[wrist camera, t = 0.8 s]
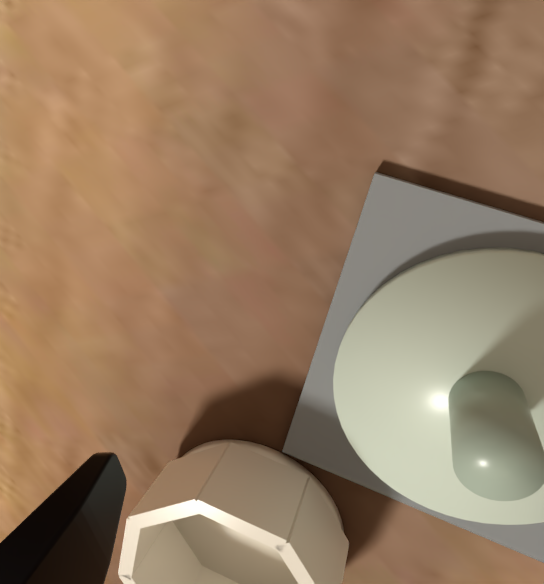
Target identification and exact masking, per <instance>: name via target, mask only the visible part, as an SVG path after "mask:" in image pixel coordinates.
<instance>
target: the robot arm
mask: <svg viewBox="0 0 544 584" xmlns="http://www.w3.org/2000/svg"><path fill="white" fill-rule="evenodd" d="M125 492H126V477H125V474H124V472H123V469H122V467H121V464H120V462H119V460H118V457H117V455H116V454H114V453H112V452H107V453H95V454H94V455H92V456H91V457H90V458H89V459H88V460H87V461H86V462H85V463H83V464H82V465H81V466H80V467H79V468H78V469H77V470H76V471H75V472H74V473H73V474H72V475H71V476H70V477H69V478H68V479H67V480H66V481H65V482H64V483H63V484H62V485H60V486H59V487H58V488H57V489H56V490H55V491H54V492H53V493H52V494H51V495H50V496H49V497H48V498H47V499H46V500H45V501H44V502H43V503H42V504H41V505H40V506H39V507H37V508H36V509H35V510H34V511H33V512H32V513H31V514H30V515H29V516H28V517H27V518H26V519H25V520H24V521H23V522H22V523H21V524H20V525H19V526H18V527H17V528H16V529H15V530H13V531H12V532H11V533H10V534H9V535H8V536H7V537H6V538H5V539H4V540H3V541H2V542H1V543H0V584H104V581H105V578H106V575H107V571H108V568H109V565H110V561H111V556H112V552H113V548H114V543H115V538H116V534H117V529H118V524H119V520H120V515H121V510H122V506H123V501H124V496H125Z"/></svg>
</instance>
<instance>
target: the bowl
mask: <svg viewBox="0 0 544 584" xmlns="http://www.w3.org/2000/svg"><path fill="white" fill-rule="evenodd" d="M348 549H349V541H348V539H347V538H346V536H345V534H344V529H343V524H342V519H341V516H340V514H339V511H338V508H337V506H336V504H335V503H334V501H333V499H332V497H331V496H330V494H329V493H328V491H327V490H326V488H325V487H324V486H323V485H322V484H321V483H320V481H319V480H318V479H317V478H316V477H315V476H314V475H313V474H312V473H310V472H309V471H308V470H307V469H306V468H304V467H303V466H302V465H301V464H299V463H298V462H296V461H295V460H293V459H292V458H290V457H288V456H287V455H285V454H283V453H281V452H279V451H277V450H275V449H272V448H270V447H267V446H264V445H261V444H257V443H253V442H249V441H242V440H216V441H211V442H207V443H203V444H201V445H199V446H196V447H194V448H193V449H191V450H190V451H188V452H187V453H186V454H184V455H183V456H182V457H181V458H178V459H175V460H172V461H169V463H168V464H167V465H166V466H165V468H164V469H163V470H162V472H161V473H160V474H159V476H158V477H157V478H156V480H155V481H154V483H153V484H152V485H151V487H150V488H149V489H148V491H147V492H146V493H145V495H144V496H143V497H142V499H141V500H140V501H139V503H138V504H137V505H136V507H135V508H134V510H133V511H132V512H131V514H130V515H129V516H128V518H127V521H126V527H125V533H124V540H123V546H122V552H121V558H120V564H119V570H118V574H119V577H120V579H121V580H122V582H123V583H124V584H342V582H343V576H344V571H345V565H346V560H347V554H348Z"/></svg>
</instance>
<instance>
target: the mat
mask: <svg viewBox="0 0 544 584" xmlns="http://www.w3.org/2000/svg"><path fill="white" fill-rule="evenodd" d="M479 248H514V249H523V250H531V251H536V252H540V253H544V222H542V221H538V220H535V219H532V218H528V217H525V216H522V215H518V214H515V213H512V212H508V211H505V210H502V209H498V208H495V207H492V206H488V205H485V204H482V203H478V202H475V201H472V200H468V199H465V198H462V197H458V196H455V195H452V194H448V193H445V192H441V191H438V190H435V189H431V188H428V187H425V186H421V185H418V184H415V183H411V182H408V181H405V180H401V179H398V178H395V177H391V176H388V175H385V174H381V173H378V172H375V174H374V177H373V180H372V183H371V186H370V189H369V192H368V195H367V198H366V201H365V204H364V207H363V210H362V213H361V216H360V219H359V222H358V225H357V228H356V231H355V234H354V237H353V240H352V243H351V246H350V249H349V252H348V255H347V258H346V261H345V264H344V267H343V270H342V273H341V276H340V279H339V282H338V285H337V288H336V291H335V294H334V297H333V300H332V303H331V306H330V309H329V312H328V315H327V318H326V321H325V324H324V327H323V330H322V333H321V336H320V339H319V342H318V345H317V348H316V351H315V354H314V357H313V360H312V363H311V366H310V369H309V372H308V375H307V378H306V381H305V384H304V387H303V390H302V393H301V396H300V399H299V402H298V405H297V408H296V411H295V414H294V417H293V420H292V423H291V426H290V429H289V432H288V435H287V438H286V441H285V444H284V447H283V450H282V452H284V453H286V454H288V455H291V456H293V457H295V458H298V459H300V460H303V461H305V462H307V463H310V464H312V465H314V466H317V467H319V468H321V469H324V470H326V471H328V472H331V473H333V474H336V475H338V476H340V477H343V478H345V479H347V480H350V481H352V482H354V483H357V484H359V485H361V486H364V487H366V488H369V489H371V490H373V491H376V492H378V493H380V494H383V495H385V496H387V497H390V498H392V499H394V500H397V501H399V502H402V503H404V504H406V505H409V506H411V507H413V508H416V509H418V510H420V511H423V512H425V513H427V514H430V515H432V516H435V517H437V518H439V519H442V520H444V521H446V522H449V523H451V524H453V525H456V526H458V527H460V528H463V529H465V530H468V531H470V532H472V533H475V534H477V535H479V536H482V537H484V538H486V539H489V540H491V541H493V542H496V543H498V544H501V545H503V546H505V547H508V548H510V549H512V550H515V551H517V552H519V553H522V554H524V555H526V556H529V557H531V558H534V559H536V560H538V561H541V562H543V563H544V522H542V523H534V524H523V525H500V524H486V523H480V522H474V521H468V520H463V519H459V518H455V517H452V516H448V515H445V514H442V513H439V512H437V511H434V510H431V509H428V508H426V507H424V506H422V505H420V504H418V503H416V502H414V501H412V500H410V499H408V498H407V497H405V496H403V495H402V494H400V493H398V492H397V491H395V490H394V489H393V488H391V487H390V486H389V485H387V484H386V483H385V482H383V481H382V480H381V479H380V478H379V477H378V476H377V475H376V474H375V473H373V472H372V471H371V470H370V469H369V468H368V467H367V465H366V464H365V463H364V462H363V461H362V459H361V458H360V457H359V456H358V455H357V453H356V452H355V450H354V449H353V447H352V445H351V444H350V442H349V441H348V439H347V437H346V435H345V433H344V431H343V429H342V426H341V423H340V420H339V417H338V414H337V411H336V406H335V400H334V392H333V376H334V367H335V362H336V358H337V354H338V351H339V347H340V344H341V342H342V339H343V337H344V335H345V332H346V330H347V328H348V326H349V324H350V322H351V321H352V319H353V317H354V316H355V314H356V313H357V311H358V310H359V308H360V307H361V306H362V305H363V304H364V303H365V301H366V300H367V299H368V298H369V297H370V296H371V295H372V294H373V293H374V292H375V291H376V290H377V289H379V288H380V287H381V286H382V285H383V284H384V283H386V282H387V281H389V280H390V279H392V278H393V277H395V276H396V275H398V274H399V273H400V272H402V271H404V270H406V269H408V268H410V267H412V266H414V265H416V264H418V263H420V262H423V261H426V260H429V259H432V258H434V257H437V256H440V255H444V254H448V253H453V252H457V251H461V250H470V249H479Z"/></svg>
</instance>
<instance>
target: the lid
mask: <svg viewBox="0 0 544 584" xmlns="http://www.w3.org/2000/svg"><path fill="white" fill-rule="evenodd" d="M333 392H334V400H335V406H336V411H337V414H338V417H339V420H340V423H341V426H342V429H343V431H344V433H345V435H346V437H347V439H348V441H349V442H350V444H351V445H352V447H353V449H354V450H355V452H356V453H357V455H358V456H359V457H360V458H361V459H362V461H363V462H364V463H365V464H366V465H367V467H368V468H369V469H370V470H371V471H372V472H373V473H375V474H376V475H377V476H378V477H379V478H380V479H381V480H382V481H383V482H385V483H386V484H387V485H389V486H390V487H391V488H393V489H394V490H395V491H397V492H398V493H400V494H402V495H403V496H405V497H407V498H408V499H410V500H412V501H414V502H416V503H418V504H420V505H422V506H424V507H426V508H428V509H431V510H434V511H437V512H439V513H442V514H445V515H448V516H452V517H455V518H459V519H463V520H468V521H474V522H480V523H486V524H500V525H523V524H534V523H542V522H544V253H540V252H536V251H531V250H523V249H514V248H479V249H470V250H461V251H457V252H453V253H448V254H444V255H440V256H437V257H434V258H432V259H429V260H426V261H423V262H420V263H418V264H416V265H414V266H412V267H410V268H408V269H406V270H404V271H402V272H400V273H399V274H398V275H396V276H395V277H393V278H392V279H390V280H389V281H387V282H386V283H384V284H383V285H382V286H381V287H380V288H379V289H377V290H376V291H375V292H374V293H373V294H372V295H371V296H370V297H369V298H368V299H367V300H366V301H365V303H364V304H363V305H362V306H361V307H360V308H359V310H358V311H357V313H356V314H355V316H354V317H353V319H352V321H351V322H350V324H349V326H348V328H347V330H346V332H345V335H344V337H343V339H342V342H341V344H340V347H339V351H338V354H337V358H336V362H335V367H334V376H333Z"/></svg>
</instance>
